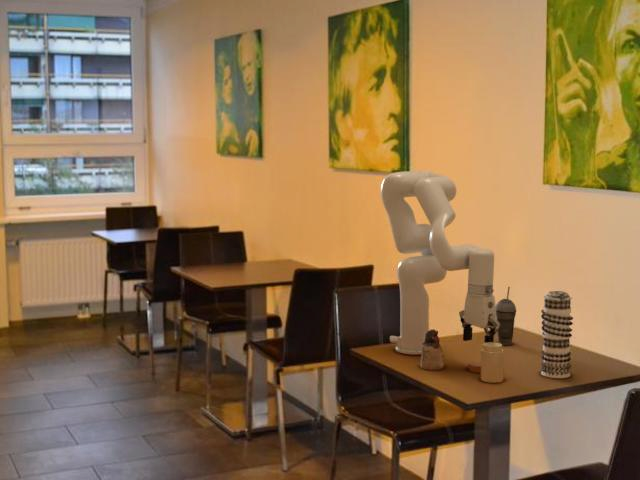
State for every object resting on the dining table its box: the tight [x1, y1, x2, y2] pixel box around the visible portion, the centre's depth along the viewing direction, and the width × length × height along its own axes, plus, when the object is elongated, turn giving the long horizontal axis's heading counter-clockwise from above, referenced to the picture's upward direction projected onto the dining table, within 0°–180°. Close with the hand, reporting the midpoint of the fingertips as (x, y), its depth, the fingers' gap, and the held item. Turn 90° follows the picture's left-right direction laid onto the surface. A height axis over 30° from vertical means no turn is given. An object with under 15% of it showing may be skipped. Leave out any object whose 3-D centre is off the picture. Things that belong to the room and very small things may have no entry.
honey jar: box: [480, 342, 505, 384], centre depth 263 cm, size 7×7×11 cm
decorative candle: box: [540, 290, 574, 379], centre depth 267 cm, size 9×9×25 cm
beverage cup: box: [496, 286, 517, 346], centre depth 306 cm, size 7×7×20 cm
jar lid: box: [468, 360, 481, 374], centre depth 274 cm, size 7×7×2 cm
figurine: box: [419, 328, 445, 371], centre depth 277 cm, size 7×7×12 cm
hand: (477, 344), depth 274 cm, fingers open, 9 cm apart
